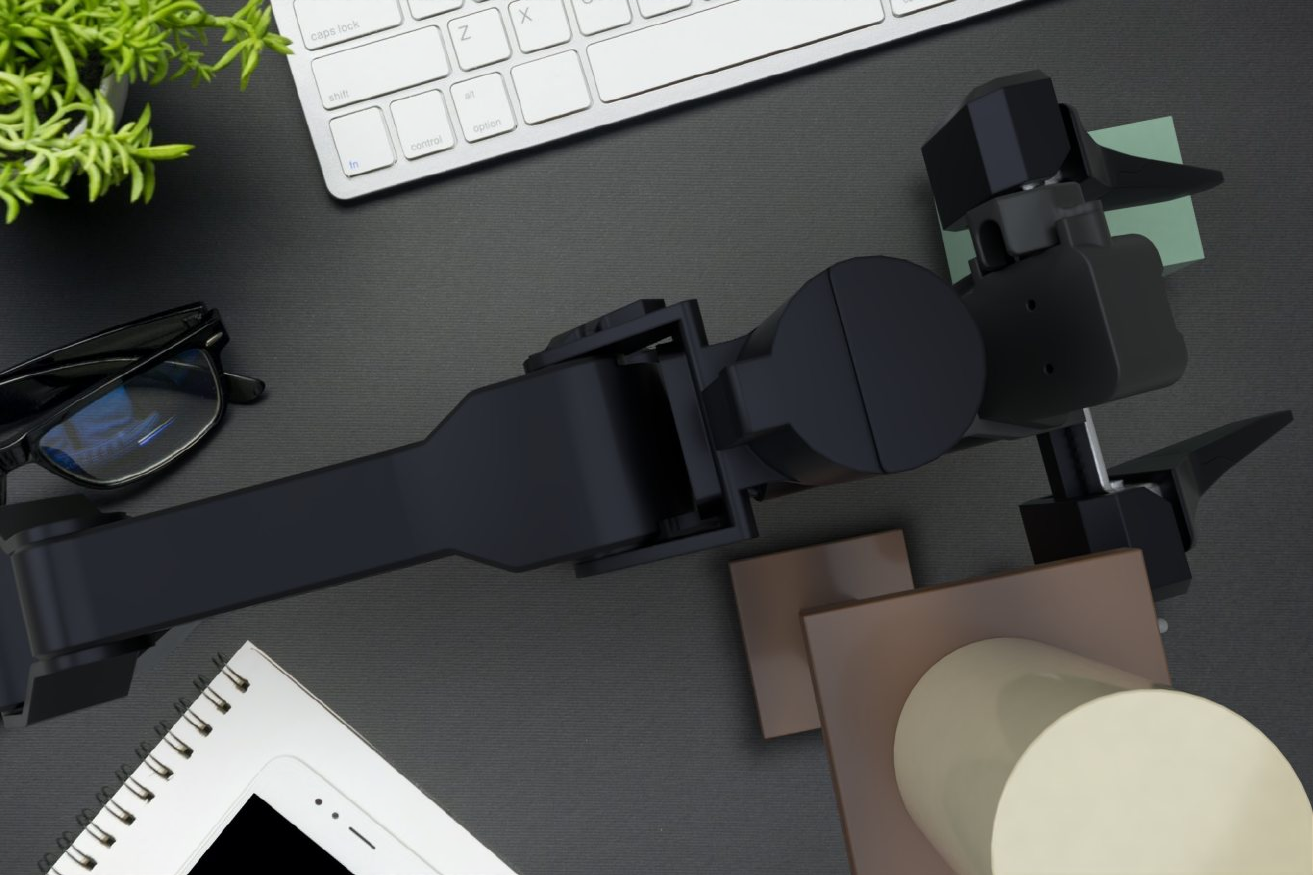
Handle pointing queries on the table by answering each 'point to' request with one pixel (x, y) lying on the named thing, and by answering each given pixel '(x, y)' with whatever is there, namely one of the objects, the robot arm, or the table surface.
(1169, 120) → the green rectangular block
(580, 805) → the table surface
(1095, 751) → the cream cylinder
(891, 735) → the stand
